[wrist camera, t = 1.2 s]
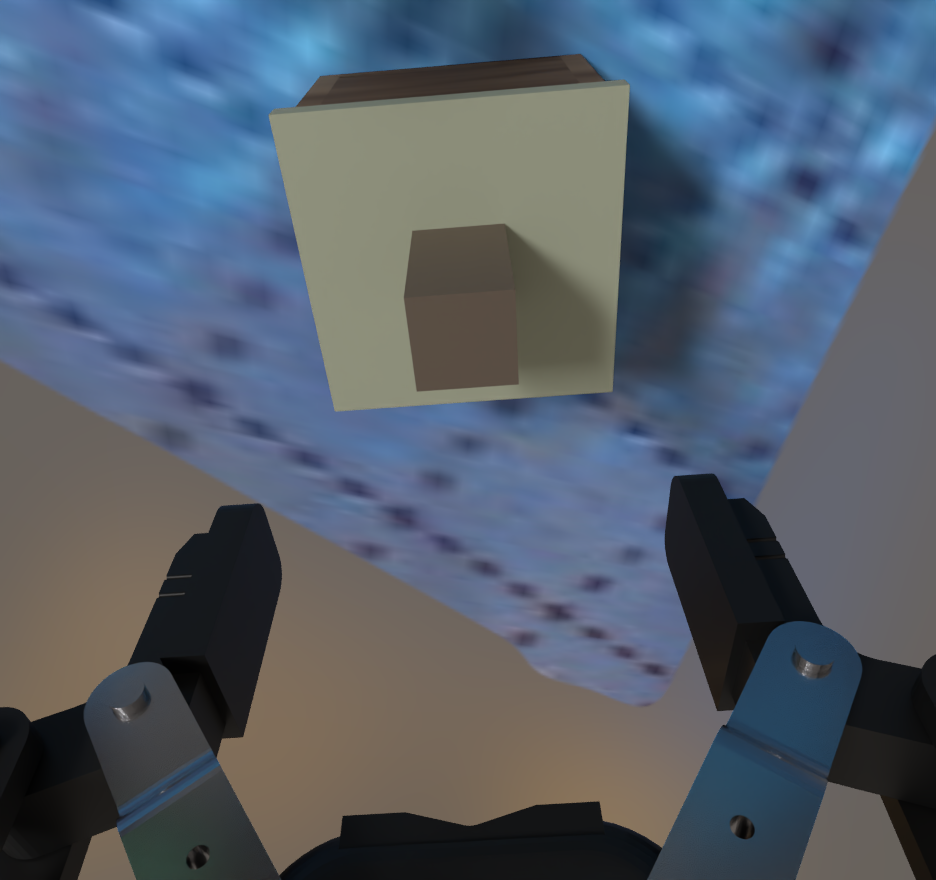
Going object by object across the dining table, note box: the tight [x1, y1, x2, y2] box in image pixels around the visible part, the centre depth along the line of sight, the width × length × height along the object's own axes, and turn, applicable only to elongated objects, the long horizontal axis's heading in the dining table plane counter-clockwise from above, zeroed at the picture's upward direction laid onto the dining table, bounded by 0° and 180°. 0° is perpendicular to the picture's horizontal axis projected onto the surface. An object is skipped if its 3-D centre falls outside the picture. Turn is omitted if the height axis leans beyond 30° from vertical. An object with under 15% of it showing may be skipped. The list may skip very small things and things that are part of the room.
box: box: [296, 54, 604, 107], centre depth 27 cm, size 10×10×7 cm
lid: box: [269, 80, 630, 411], centre depth 22 cm, size 11×11×6 cm
